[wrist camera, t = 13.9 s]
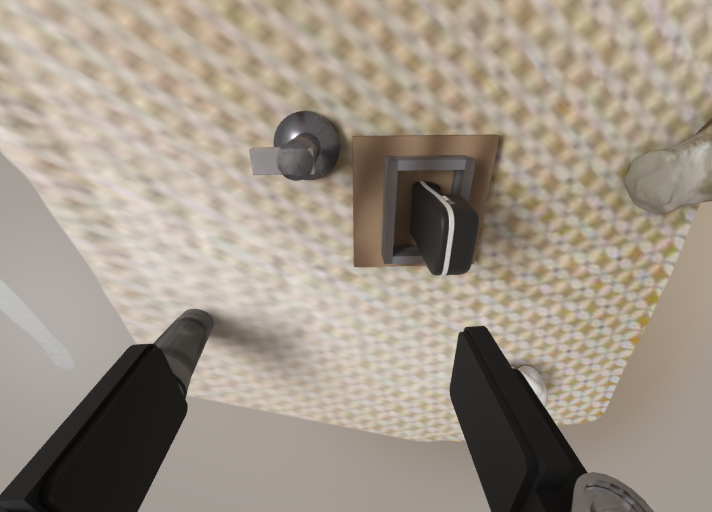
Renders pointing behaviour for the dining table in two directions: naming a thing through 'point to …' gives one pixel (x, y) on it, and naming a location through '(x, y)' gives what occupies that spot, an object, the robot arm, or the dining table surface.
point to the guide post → (299, 148)
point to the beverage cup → (185, 344)
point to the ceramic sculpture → (673, 174)
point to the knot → (535, 382)
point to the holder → (411, 188)
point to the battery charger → (443, 229)
